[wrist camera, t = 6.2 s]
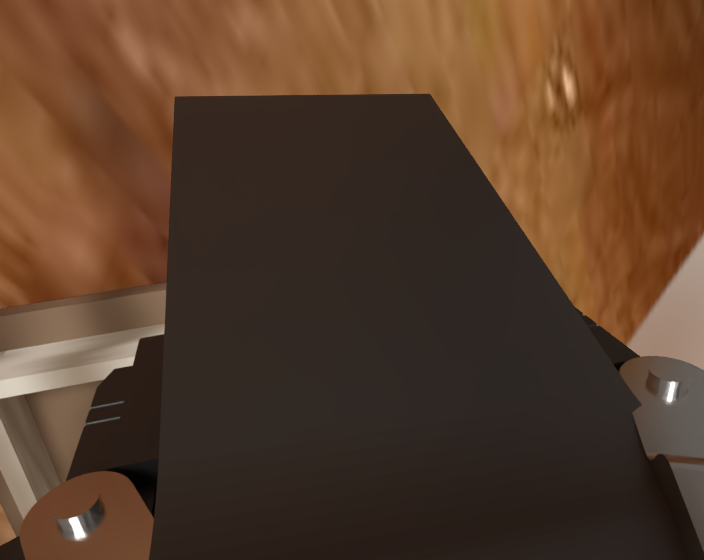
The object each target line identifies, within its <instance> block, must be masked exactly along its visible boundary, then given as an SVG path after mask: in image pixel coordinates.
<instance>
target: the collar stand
mask: <svg viewBox="0 0 704 560" xmlns="http://www.w3.org/2000/svg"><path fill="white" fill-rule="evenodd" d="M166 285H167V282H166V283H160V284H153V285H147V286H141V287H135V288H128V289H122V290H116V291H109V292H103V293H97V294H91V295H84V296H78V297H72V298H66V299H59V300H53V301H47V302H40V303H34V304H28V305H22V306H15V307H9V308H3V309H0V503H1V505H2V507H3V509H4V512H5V514H6V516H7V518H8V520H9V522H10V524H11V526H12V528H13V530H14V532H15V534H16V536H17V537H18V536H19V535H20V528H21V525H22V522H23V520H24V518H25V517H26V515H27V513H28V512H29V511H30V509H31V508H32V507H33V505H34V504H35V503H36V502H37V501H38V500H39V499H40V498H42V497H43V496H44V495H45V494H46V493H48V492H49V491H51V490H52V489H54V488H55V487H57V486H58V485H60V484H62V483H64V482H66V479H67V476H68V473H69V470H70V467H71V464H72V461H73V458H74V455H75V452H76V449H77V446H78V443H79V440H80V437H81V434H82V431H83V428H84V426H86V423H85V422H86V419H87V416H88V413H89V410H91V404H92V401H93V398H94V395H95V392H96V389H97V387H98V386H99V385H100V384H101V383H102V381H103V380H104V379H105V378H106V377H107V376H108V375H109V374H110V373H111V372H112V371H113V370H114V369H117V368H122V367H128V366H133V363H134V359H135V355H136V351H137V347H138V343H139V340H140V338H144V337H150V336H156V335H162V334H164V330H165V307H166Z"/></svg>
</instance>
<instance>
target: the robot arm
mask: <svg viewBox="0 0 704 560" xmlns="http://www.w3.org/2000/svg"><path fill="white" fill-rule="evenodd" d="M575 309H576V310H577V312H578V313H579V315H580V316H581V318H582V319H583V321H584V322H585V323H586V325H587V326H588V328H589V329H590V331H591V332H592V334H593V335H594V337H595V338H596V340H597V341H598V343H599V344H600V346H601V347H602V349H603V350H604V351H605V353H606V354H607V356H608V357H609V359H610V360H611V362H612V363H613V365H614V366H615V368H616V369H617V371H618V372H619V374H620V375H621V377H622V378H623V379H624V381H625V382H626V384H627V385H628V387H629V388H630V390H631V391H632V392H633V394H634V395H635V396H636V398H637V399H638V400H639V402H640V403H641V404H642V406H640V407H639V408H637V409H636V410H635V411H634V412H633V413H632V415H633V418H634V422H635V425H636V429H637V432H638V436H639V439H640V442H641V445H642V448H643V451H644V453H645V456H646V459H647V462H648V464H649V467H650V469H651V472H652V474H653V476H654V479H655V481H656V483H657V485H658V487H659V490H660V492H661V494H662V496H663V498H664V500H665V502H666V504H667V507H668V509H669V511H670V514H671V516H672V519H673V522H674V524H675V527H676V530H677V533H678V536H679V539H680V542H681V546H682V549H683V552H684V556H685V559H686V560H704V370H702V369H700V368H698V367H696V366H694V365H692V364H690V363H687V362H684V361H681V360H677V359H673V358H668V357H660V356H645V357H640V356H639V355H637V354H636V353H635V352H633V351H632V350H631V349H629V348H628V347H627V346H625V345H624V344H623V343H622V342H620V341H619V340H618V339H616V338H615V337H614V336H612V335H611V334H610V333H608V332H607V331H606V330H604V329H603V328H602V327H600V326H597V325H596V323H595V322H594V321H593V320H591V319H590V318H589V317H587V316H583V313H582V312H581V311H579V310H578V309H577V308H575ZM163 352H164V334H162V335H156V336H150V337H144V338H140V340H139V343H138V347H137V351H136V355H135V359H134V363H133V366H128V367H122V368H117V369H114V370H113V371H112V372H111V373H110V374H109V375H108V376H107V377H106V378H105V379H104V380H103V381H102V383H101V384H100V385H99V386H98V387H97V389H96V392H95V395H94V398H93V401H92V404H91V410H89V413H88V416H87V419H86V422H85V423H86V426H84V428H83V431H82V434H81V437H80V440H79V443H78V446H77V449H76V452H75V455H74V458H73V461H72V464H71V467H70V470H69V473H68V476H67V479H66V482H64V483H62V484H60V485H58V486H57V487H55V488H54V489H52V490H51V491H49V492H48V493H46V494H45V495H44V496H43V497H42V498H40V499H39V500H38V501H37V502H36V503H35V504H34V505H33V507H32V508H31V509H30V511H29V512H28V513H27V515H26V517H25V518H24V520H23V522H22V525H21V528H20V535H19V536H18V537H16V538H14V539H13V540H11V541H9V542H7V543H5V544H3V545H1V546H0V560H149V554H150V547H151V539H152V531H153V523H154V513H155V503H156V491H157V478H158V462H159V442H160V419H161V397H162V375H163Z"/></svg>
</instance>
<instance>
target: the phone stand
mask: <svg viewBox="0 0 704 560" xmlns="http://www.w3.org/2000/svg"><path fill="white" fill-rule="evenodd" d="M640 406H642V404H641V403H640V402H639V400H638V399H637V398H636V396H635V395H634V394H633V392H632V391H631V390H630V388H629V387H628V385H627V384H626V382H625V381H624V379H623V378H622V377H621V375H620V374H619V372H618V371H617V369H616V368H615V366H614V365H613V363H612V362H611V360H610V359H609V357H608V356H607V354H606V353H605V351H604V350H603V349H602V347H601V346H600V344H599V343H598V341H597V340H596V338H595V337H594V335H593V334H592V332H591V331H590V329H589V328H588V326H587V325H586V323H585V322H584V321H583V319H582V318H581V316H580V315H579V313H578V312H577V310H576V309H575V307H574V306H573V304H572V303H571V301H570V300H569V298H568V297H567V295H566V294H565V292H564V291H563V290H562V288H561V287H560V285H559V284H558V282H557V281H556V279H555V278H554V276H553V275H552V273H551V272H550V270H549V269H548V267H547V266H546V264H545V263H544V262H543V260H542V259H541V257H540V256H539V254H538V253H537V251H536V250H535V248H534V247H533V245H532V244H531V242H530V241H529V239H528V238H527V236H526V235H525V234H524V232H523V231H522V229H521V228H520V226H519V225H518V223H517V222H516V220H515V219H514V217H513V216H512V214H511V213H510V211H509V210H508V208H507V207H506V206H505V204H504V203H503V201H502V200H501V198H500V197H499V195H498V194H497V192H496V191H495V189H494V188H493V186H492V185H491V183H490V182H489V180H488V179H487V177H486V176H485V175H484V173H483V172H482V170H481V169H480V167H479V166H478V164H477V163H476V161H475V160H474V158H473V157H472V155H471V154H470V152H469V151H468V149H467V148H466V147H465V145H464V144H463V142H462V141H461V139H460V138H459V136H458V135H457V133H456V132H455V130H454V129H453V127H452V126H451V124H450V123H449V121H448V120H447V119H446V117H445V116H444V114H443V113H442V111H441V110H440V108H439V107H438V105H437V104H436V102H435V101H434V99H433V98H432V96H431V95H430V94H368V95H277V96H187V97H175V105H174V128H173V150H172V173H171V195H170V217H169V240H168V262H167V285H166V307H165V330H164V352H163V375H162V397H161V419H160V442H159V462H158V478H157V491H156V503H155V513H154V523H153V531H152V539H151V547H150V554H149V560H686V559H685V556H684V552H683V549H682V546H681V542H680V539H679V536H678V533H677V530H676V527H675V524H674V522H673V519H672V516H671V514H670V511H669V509H668V507H667V504H666V502H665V500H664V498H663V496H662V494H661V492H660V490H659V487H658V485H657V483H656V481H655V479H654V476H653V474H652V472H651V469H650V467H649V464H648V462H647V459H646V456H645V453H644V451H643V448H642V445H641V442H640V439H639V436H638V432H637V429H636V425H635V422H634V418H633V415H632V413H633V412H634V411H635V410H636V409H637V408H639V407H640Z"/></svg>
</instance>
